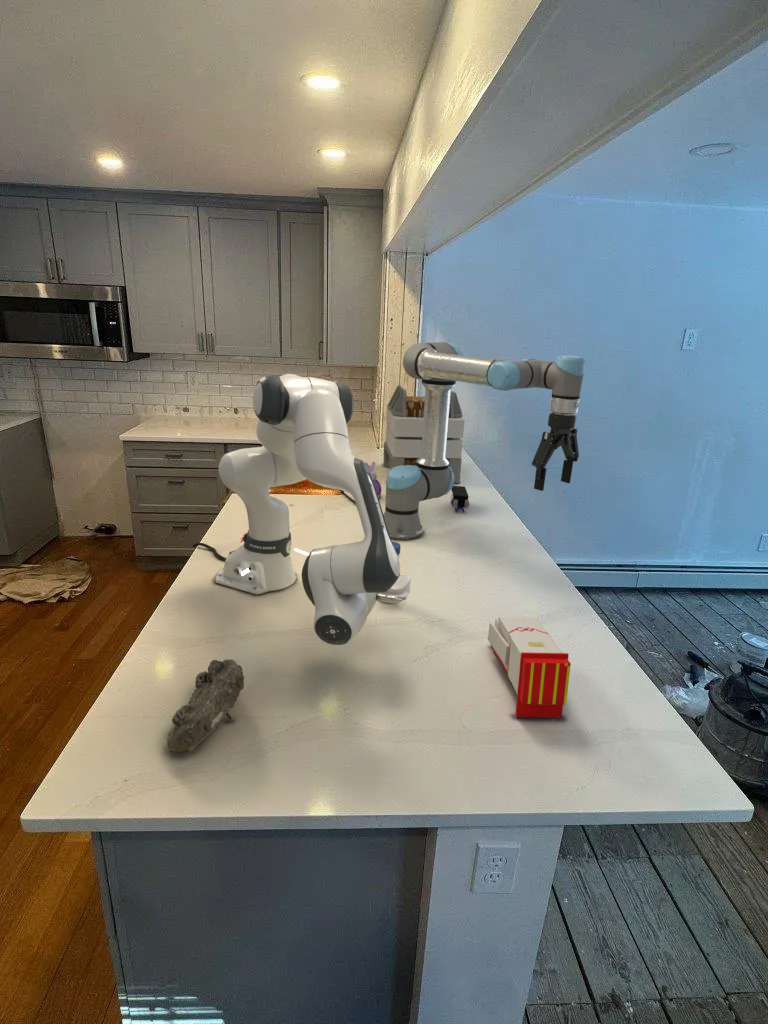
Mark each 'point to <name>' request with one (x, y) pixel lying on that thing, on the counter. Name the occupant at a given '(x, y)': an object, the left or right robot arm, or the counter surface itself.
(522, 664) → the toy
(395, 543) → the lid
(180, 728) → the fossil
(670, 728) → the counter surface
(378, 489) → the figurine
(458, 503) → the figurine character
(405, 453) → the grey storage crate
